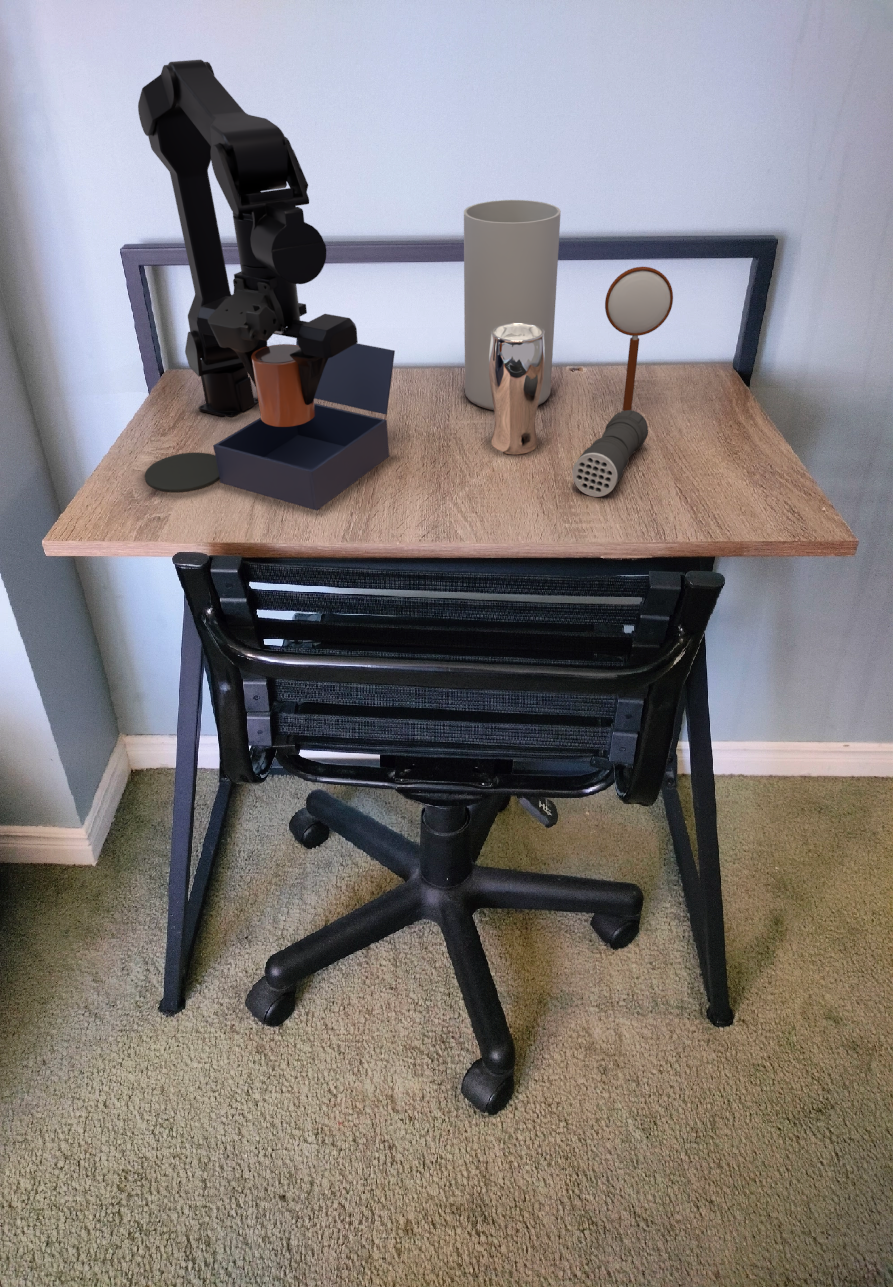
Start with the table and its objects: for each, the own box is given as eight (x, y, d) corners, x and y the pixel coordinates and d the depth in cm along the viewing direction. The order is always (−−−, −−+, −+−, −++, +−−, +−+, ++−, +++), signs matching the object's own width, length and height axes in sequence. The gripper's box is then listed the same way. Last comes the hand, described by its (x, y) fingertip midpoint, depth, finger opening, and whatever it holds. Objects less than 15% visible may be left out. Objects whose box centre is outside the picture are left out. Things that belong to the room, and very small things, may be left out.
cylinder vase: (447, 398, 131) (443, 213, 115) (500, 372, 138) (504, 195, 122) (515, 421, 124) (521, 228, 109) (567, 393, 131) (579, 208, 116)
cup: (249, 420, 106) (239, 358, 102) (283, 400, 111) (274, 340, 106) (293, 431, 104) (284, 368, 99) (325, 410, 108) (319, 349, 104)
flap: (291, 393, 118) (293, 393, 118) (385, 414, 112) (387, 414, 112) (297, 332, 115) (298, 332, 115) (393, 350, 109) (395, 350, 110)
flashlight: (608, 440, 119) (612, 402, 115) (648, 448, 117) (653, 409, 114) (570, 491, 108) (573, 450, 105) (613, 500, 106) (618, 459, 103)
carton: (297, 435, 122) (292, 398, 118) (389, 458, 116) (386, 419, 113) (220, 485, 111) (213, 445, 108) (317, 513, 105) (312, 471, 102)
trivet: (128, 484, 112) (127, 478, 111) (184, 451, 119) (182, 446, 118) (189, 502, 108) (187, 496, 107) (242, 468, 115) (241, 462, 114)
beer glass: (537, 458, 115) (542, 342, 106) (484, 454, 116) (484, 339, 107) (543, 435, 120) (549, 323, 111) (492, 431, 122) (493, 320, 112)
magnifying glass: (595, 419, 124) (608, 269, 112) (594, 414, 125) (607, 265, 113) (658, 419, 124) (678, 268, 111) (656, 414, 125) (676, 264, 113)
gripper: (149, 269, 95) (179, 408, 104) (290, 293, 87) (308, 441, 97) (219, 243, 102) (241, 375, 112) (354, 263, 95) (365, 403, 104)
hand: (285, 398), depth 106 cm, fingers closed on cup, 6 cm apart
